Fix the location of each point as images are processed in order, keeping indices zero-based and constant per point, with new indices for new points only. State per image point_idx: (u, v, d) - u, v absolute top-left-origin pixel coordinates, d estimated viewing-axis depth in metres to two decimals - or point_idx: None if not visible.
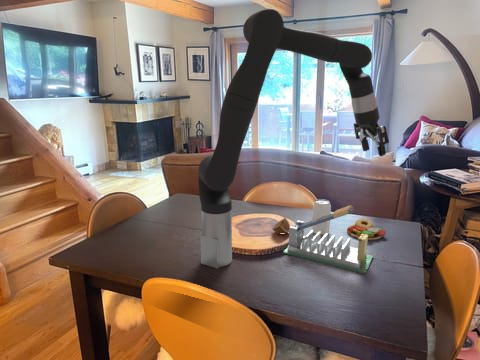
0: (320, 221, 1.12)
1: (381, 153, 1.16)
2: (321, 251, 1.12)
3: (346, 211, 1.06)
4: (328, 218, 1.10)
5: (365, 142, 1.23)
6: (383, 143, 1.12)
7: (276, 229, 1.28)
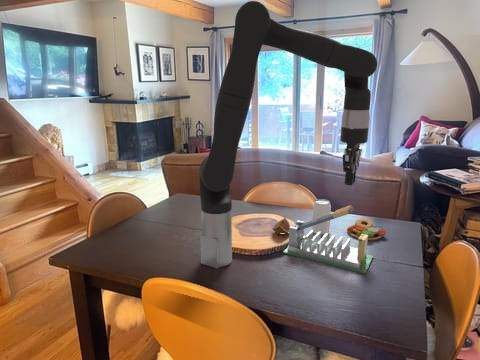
0: (320, 221, 1.12)
1: (345, 181, 1.04)
2: (321, 251, 1.12)
3: (346, 211, 1.06)
4: (328, 218, 1.10)
5: None
6: (344, 169, 1.01)
7: (276, 229, 1.28)
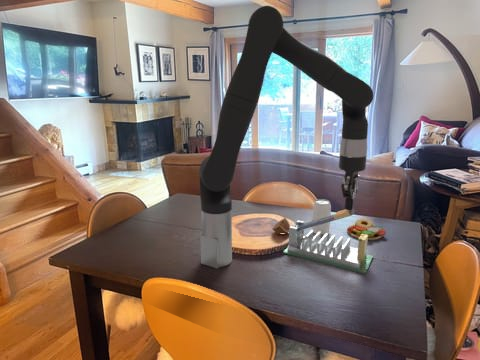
0: (320, 222, 1.12)
1: (346, 206, 1.07)
2: (321, 251, 1.12)
3: (347, 213, 1.06)
4: (329, 219, 1.10)
5: None
6: (344, 195, 1.04)
7: (276, 229, 1.28)
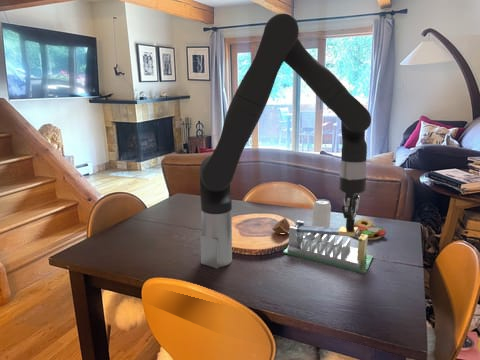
0: (323, 232, 1.12)
1: (347, 226, 1.09)
2: (321, 251, 1.12)
3: (353, 234, 1.07)
4: (332, 233, 1.10)
5: None
6: (345, 216, 1.06)
7: (276, 229, 1.28)
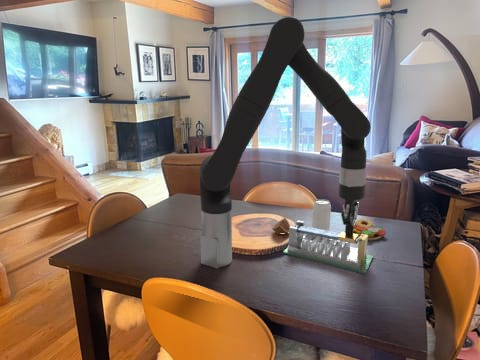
0: (323, 235, 1.12)
1: (346, 232, 1.09)
2: (321, 251, 1.12)
3: (353, 240, 1.07)
4: (332, 237, 1.11)
5: (349, 226, 1.09)
6: (344, 222, 1.06)
7: (276, 229, 1.28)
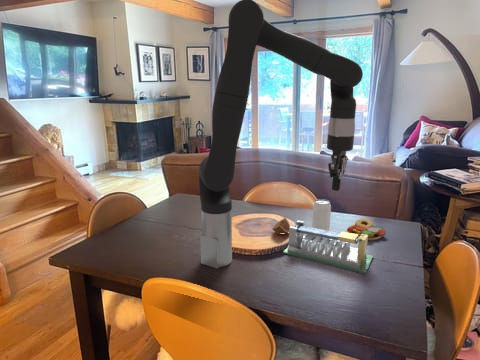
0: (323, 235, 1.12)
1: (332, 186, 1.08)
2: (321, 251, 1.12)
3: (353, 240, 1.07)
4: (332, 237, 1.11)
5: None
6: (331, 175, 1.05)
7: (276, 229, 1.28)
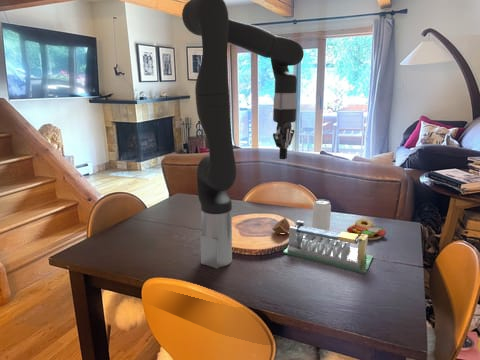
0: (323, 235, 1.12)
1: (280, 155, 1.20)
2: (321, 251, 1.12)
3: (353, 240, 1.07)
4: (332, 237, 1.11)
5: None
6: (277, 145, 1.17)
7: (276, 229, 1.28)
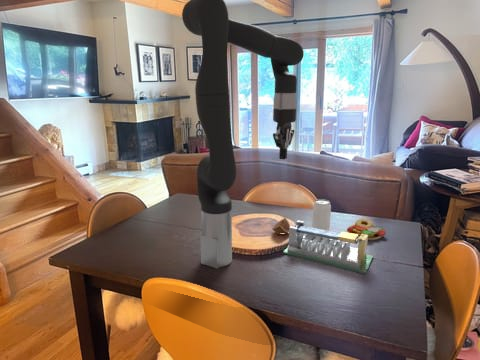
0: (323, 235, 1.12)
1: (280, 155, 1.20)
2: (321, 251, 1.12)
3: (353, 240, 1.07)
4: (332, 237, 1.11)
5: None
6: (277, 145, 1.17)
7: (276, 229, 1.28)
